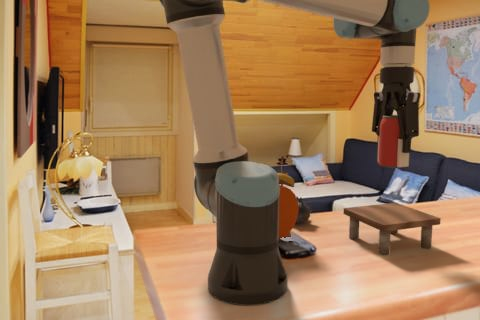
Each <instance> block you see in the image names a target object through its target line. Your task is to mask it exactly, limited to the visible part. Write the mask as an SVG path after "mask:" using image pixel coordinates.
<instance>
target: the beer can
mask: <svg viewBox="0 0 480 320" xmlns="http://www.w3.org/2000/svg"><path fill="white" fill-rule="evenodd" d="M406 133H407V132H406ZM400 136H401V134H400V128H399V123H398V117H397V114H395V115H394V114H393V115H391V116H385V115H384V116H383V119H382V121H381V123H380V137H379V161H378V162H377V163H378V165H379V166H381V167H382V168H389V169H391V168H392V169H401V168H403V167H397V154H398V139H399V138H398V137H400Z"/></svg>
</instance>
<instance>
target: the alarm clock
mask: <svg viewBox="0 0 480 320" xmlns="http://www.w3.org/2000/svg"><path fill="white" fill-rule="evenodd" d="M271 163H273V161H270V162H268V164H271ZM277 163H280V172H277V174H278V178H279V187H280V194H279V233H278V240H279V239H280V238H282V237H284V238H286V237H291V236H292V235H291V234H292V233H291V231H292V230H293V228H294V227H295V225H296V223H297V222H296V220H297V218H298V211H299V207H298V200H297V198H296V197H297V195H296V193H294V192H293V190H291V189H290V188H288V187H291V188H295V180H294V178H292V177H291V176H290V175H289V173H288V172H286V173H284V172H283V166H282V161H278V160H277ZM260 164H264V162H263V163H262V162H261V163H260ZM286 186H287V187H286Z"/></svg>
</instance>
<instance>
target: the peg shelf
mask: <svg viewBox="0 0 480 320" xmlns="http://www.w3.org/2000/svg"><path fill="white" fill-rule="evenodd" d="M342 213H343V215H344V216H347V217H349V225H348V228H349V230H348V238H349V239H350V240H359V239H360V223H362V224H365V225H367V226H370V227H372V228H373V229H376V230H379V233H378V234H379V235H378V237H379V238H378V254H379V255H380V256H389V255H390V253H391V251H390V248H391V235H398V234H399V231H401V230H407V229H408V230H409V229H417V228H421V229H420V244H419V245H420V246H419V247H420V248H422V249H425V250H431V249H432V242H433V241H432V239H433V226H437V225H441V218H442V217H441V218H440V217H439V216H434V215H433V214H429V213H426V212H423V211H420V210H418V209H415V208H412V207H410V206H407V205H404V204H400V203H398V202H390V203H379V204H370V205H361V206H352V207H344V208H343V212H342Z"/></svg>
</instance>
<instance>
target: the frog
mask: <svg viewBox="0 0 480 320" xmlns="http://www.w3.org/2000/svg"><path fill="white" fill-rule="evenodd" d="M296 198H297V200H298V207H299V211H298V218H297V220H296V223H300V222H305V221H308V220H309V219H310V218H311V213H312V211H313V209H314V208H313V207H312V206H308V205H307V204H306V203H305V202H303V198H302V196H301V197H298V196H296Z"/></svg>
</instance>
